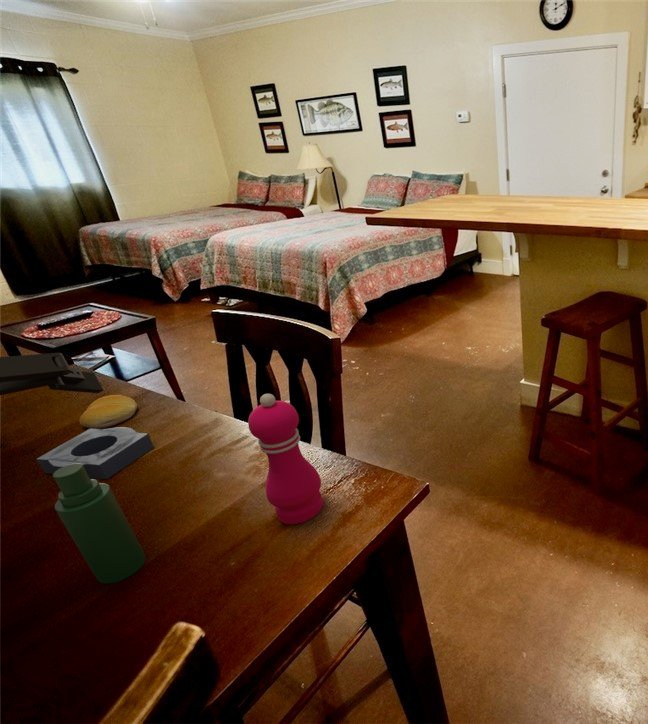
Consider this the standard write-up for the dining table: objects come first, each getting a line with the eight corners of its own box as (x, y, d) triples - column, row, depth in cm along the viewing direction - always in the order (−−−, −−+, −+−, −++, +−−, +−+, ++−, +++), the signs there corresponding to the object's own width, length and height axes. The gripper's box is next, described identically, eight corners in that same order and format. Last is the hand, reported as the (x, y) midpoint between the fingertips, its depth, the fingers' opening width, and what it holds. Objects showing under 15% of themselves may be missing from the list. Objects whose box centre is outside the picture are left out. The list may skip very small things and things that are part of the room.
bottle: (86, 581, 60) (25, 482, 53) (123, 550, 64) (71, 455, 57) (120, 586, 59) (63, 486, 52) (155, 554, 64) (107, 458, 57)
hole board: (36, 478, 78) (27, 463, 77) (103, 438, 88) (96, 424, 87) (99, 484, 77) (91, 469, 75) (160, 443, 87) (154, 429, 85)
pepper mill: (310, 487, 76) (278, 376, 67) (336, 505, 72) (306, 391, 63) (264, 513, 70) (224, 398, 62) (290, 535, 67) (251, 415, 58)
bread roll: (76, 434, 89) (67, 416, 88) (95, 411, 97) (87, 394, 95) (129, 425, 92) (121, 407, 90) (144, 403, 100) (137, 386, 98)
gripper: (-341, 526, 38) (-38, 490, 59) (-33, 362, 41) (150, 384, 62) (-378, 447, 39) (-65, 439, 59) (-71, 291, 42) (123, 336, 63)
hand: (45, 411), depth 61 cm, fingers open, 13 cm apart
